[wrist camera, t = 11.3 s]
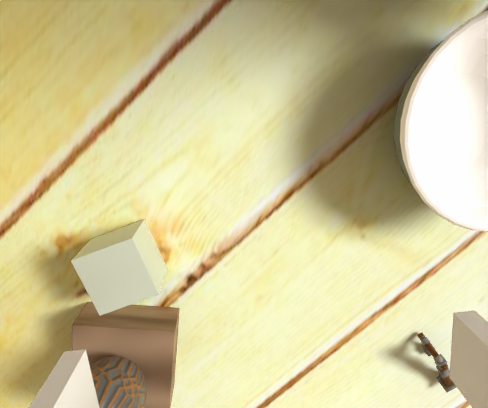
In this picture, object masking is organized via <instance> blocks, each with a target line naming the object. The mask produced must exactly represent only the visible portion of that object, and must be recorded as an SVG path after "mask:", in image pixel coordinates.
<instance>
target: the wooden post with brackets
mask: <svg viewBox="0 0 488 408" xmlns="http://www.w3.org/2000/svg"><path fill="white" fill-rule="evenodd" d="M418 337H419V338H420V340H421V342H422V343H423V345H422V347H423V349H424V350H425V352H426V353H427V355H428V356H431V355H432V356H433V357H434V358H433V359H434V360H435V363H436V365H437V366H436V367H437V369H438V372H439V373H440V375H441V376H439V377H438V381H439V382H440V384H441V385H442V386H443V388H444V389H445V391H446V392H449V391H450V390H452V389H454V388H456V385H455V384H454V383H453V381H452V380H451V379H450V378H449V377H450V371H449V369H448V365H447V361H446V360H445V359H444V357H443V356H442V355H441V354H440V355H439V354H438V353H437V352H436V351H435V348H434V347H433V346H432V344H431V343H430V341H429V340H428V339H427V337H425V335H423V333H420V334H418Z"/></svg>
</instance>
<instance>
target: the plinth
mask: <svg viewBox="0 0 488 408" xmlns="http://www.w3.org/2000/svg"><path fill="white" fill-rule="evenodd" d="M178 322H179V308H173V307H158V306H143V305H128V306H125V307H123V308H120V309H117V310H114V311H112V312H109V313H106V314H103V315H101V316H100V315H99V313H98V312H97V310H96V308H95V306H94V304H93V302H87V304H86V305H85V307H84V308H83V310H82V311H81V313H80V314H79V316H78V317H77V319H76V320H75V322H74V323H73V325H72V351H75V350H85V349H86V353H87V357H88V361H89V365H91V364H93V363H94V362H96V361H98V360H100V359H102V358H105V357H111V356H119V357H124V358H127V359H129V360H131V361H132V362H134V363H135V364H136V365H137V366H138V367H139V368H140V369H141V371H142V373H143V374H144V377H145V379H146V385H147V397H146V403H145V407H144V408H170V406H171V400H172V394H173V388H174V379H175V365H176V351H177V336H178Z"/></svg>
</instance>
